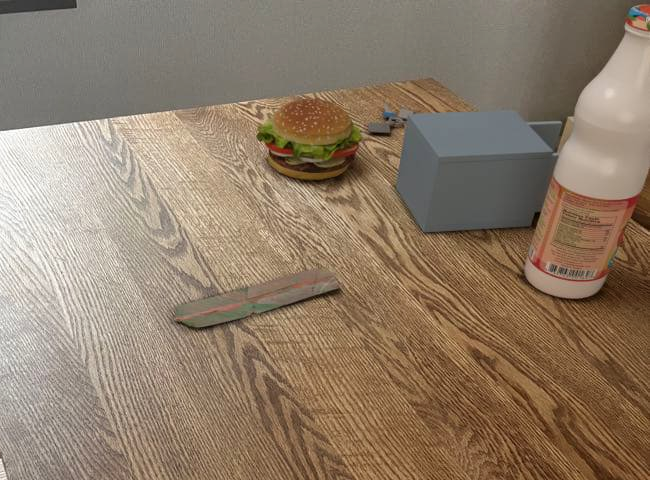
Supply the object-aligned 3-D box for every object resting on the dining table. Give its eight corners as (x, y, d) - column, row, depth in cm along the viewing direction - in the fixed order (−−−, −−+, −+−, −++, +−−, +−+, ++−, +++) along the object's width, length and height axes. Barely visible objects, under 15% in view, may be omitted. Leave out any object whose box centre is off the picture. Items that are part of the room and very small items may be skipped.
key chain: (376, 138, 123) (377, 132, 122) (343, 118, 127) (343, 113, 126) (445, 119, 128) (446, 114, 127) (411, 101, 132) (411, 96, 132)
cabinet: (495, 181, 115) (514, 109, 108) (530, 226, 107) (553, 151, 99) (395, 186, 113) (407, 113, 106) (423, 232, 105) (439, 156, 97)
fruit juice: (507, 264, 100) (585, -1, 79) (574, 254, 102) (667, -7, 81) (549, 306, 94) (645, 32, 73) (618, 294, 96) (731, 24, 75)
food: (312, 133, 123) (317, 76, 118) (374, 169, 116) (383, 110, 110) (238, 155, 118) (239, 95, 112) (298, 194, 111) (303, 133, 105)
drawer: (595, 172, 116) (616, 114, 110) (634, 211, 108) (658, 151, 102) (466, 179, 113) (480, 119, 107) (496, 219, 106) (513, 158, 100)
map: (165, 314, 92) (165, 307, 91) (323, 265, 98) (323, 258, 97) (184, 338, 89) (184, 331, 88) (345, 286, 95) (346, 279, 94)
